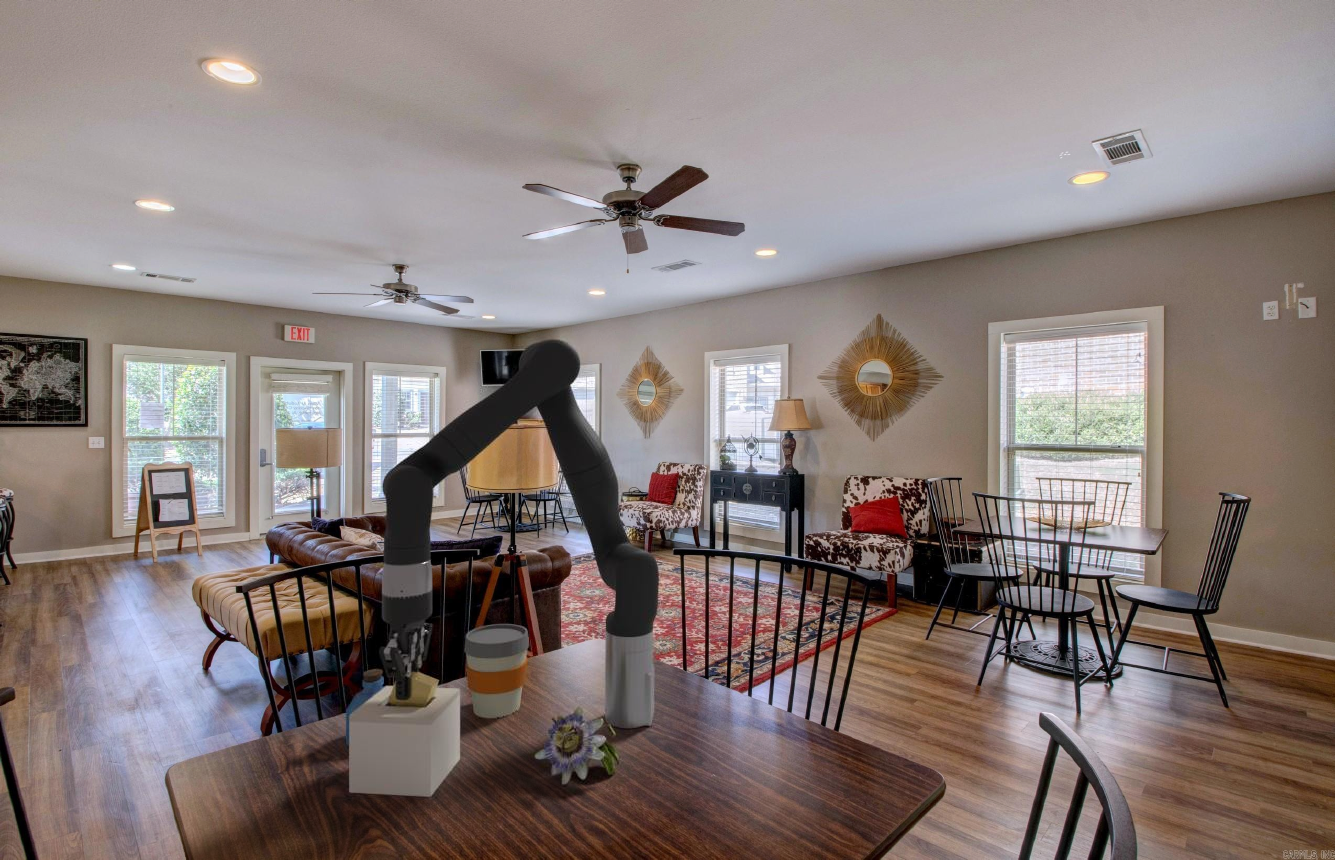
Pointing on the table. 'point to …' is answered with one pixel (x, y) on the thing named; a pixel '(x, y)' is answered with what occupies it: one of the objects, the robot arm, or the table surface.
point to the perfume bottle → (365, 693)
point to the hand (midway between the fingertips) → (407, 694)
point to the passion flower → (577, 746)
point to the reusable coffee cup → (496, 668)
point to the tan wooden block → (417, 691)
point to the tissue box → (403, 744)
